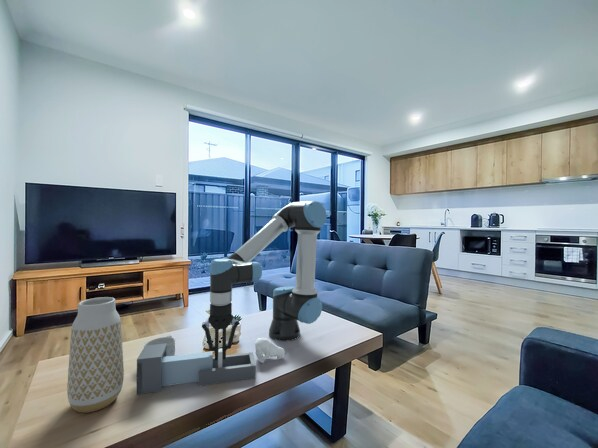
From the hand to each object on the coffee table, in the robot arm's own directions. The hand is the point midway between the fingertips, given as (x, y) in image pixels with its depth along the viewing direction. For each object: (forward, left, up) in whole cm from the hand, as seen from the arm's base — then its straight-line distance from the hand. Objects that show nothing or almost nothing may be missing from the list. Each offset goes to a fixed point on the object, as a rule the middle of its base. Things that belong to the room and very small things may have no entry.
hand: (220, 368), depth 99 cm
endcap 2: (-4, 0, -3) cm, 4 cm away
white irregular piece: (-19, -7, -3) cm, 21 cm away
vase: (+36, +6, -3) cm, 36 cm away
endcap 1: (+22, 0, -3) cm, 22 cm away
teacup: (+22, -16, -3) cm, 27 cm away
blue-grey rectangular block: (+13, 0, -3) cm, 13 cm away
